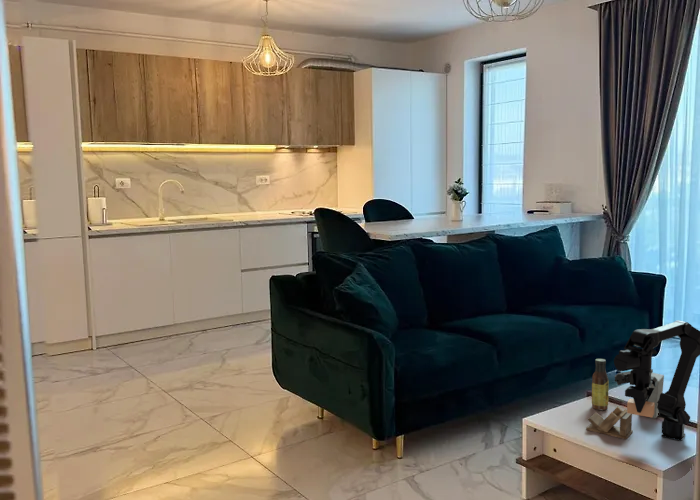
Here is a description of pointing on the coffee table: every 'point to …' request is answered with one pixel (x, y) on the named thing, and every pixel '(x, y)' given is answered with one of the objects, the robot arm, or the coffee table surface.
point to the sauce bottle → (600, 386)
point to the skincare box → (656, 392)
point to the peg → (646, 411)
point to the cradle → (612, 424)
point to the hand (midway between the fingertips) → (640, 410)
